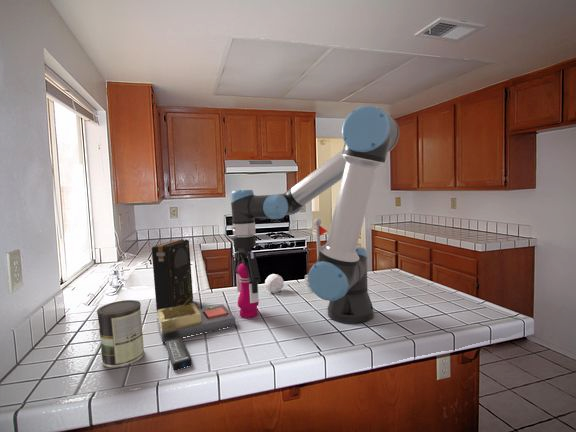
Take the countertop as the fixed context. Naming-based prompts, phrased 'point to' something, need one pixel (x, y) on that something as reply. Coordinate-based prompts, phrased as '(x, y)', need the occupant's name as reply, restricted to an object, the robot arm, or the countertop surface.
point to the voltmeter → (172, 274)
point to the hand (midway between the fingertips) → (247, 296)
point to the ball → (274, 283)
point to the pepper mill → (245, 295)
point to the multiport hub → (178, 353)
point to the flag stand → (318, 232)
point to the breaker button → (215, 313)
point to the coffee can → (120, 333)
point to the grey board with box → (190, 321)
